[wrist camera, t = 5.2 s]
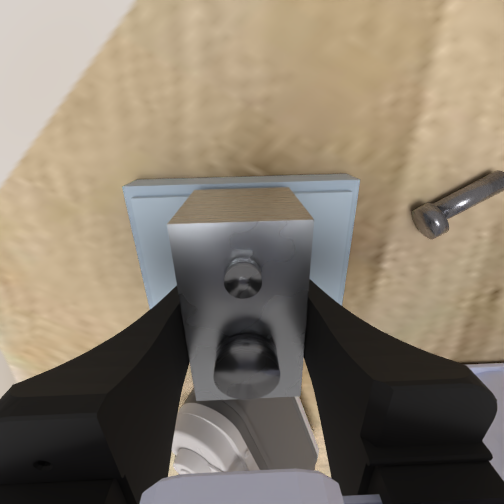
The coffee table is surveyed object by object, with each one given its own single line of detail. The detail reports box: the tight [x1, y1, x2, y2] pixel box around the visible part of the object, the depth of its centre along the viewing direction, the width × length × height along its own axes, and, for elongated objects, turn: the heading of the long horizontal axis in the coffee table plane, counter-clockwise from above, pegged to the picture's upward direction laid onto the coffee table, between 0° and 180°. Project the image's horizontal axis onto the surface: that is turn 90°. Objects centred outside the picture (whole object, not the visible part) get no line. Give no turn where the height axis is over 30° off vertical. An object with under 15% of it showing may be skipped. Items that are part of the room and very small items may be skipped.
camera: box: [172, 388, 319, 475], centre depth 19 cm, size 9×16×10 cm, turn 19°
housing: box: [167, 187, 314, 401], centre depth 12 cm, size 4×8×6 cm, turn 2°
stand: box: [122, 174, 360, 309], centre depth 16 cm, size 12×9×2 cm
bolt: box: [412, 170, 504, 239], centre depth 15 cm, size 5×2×2 cm, turn 121°
